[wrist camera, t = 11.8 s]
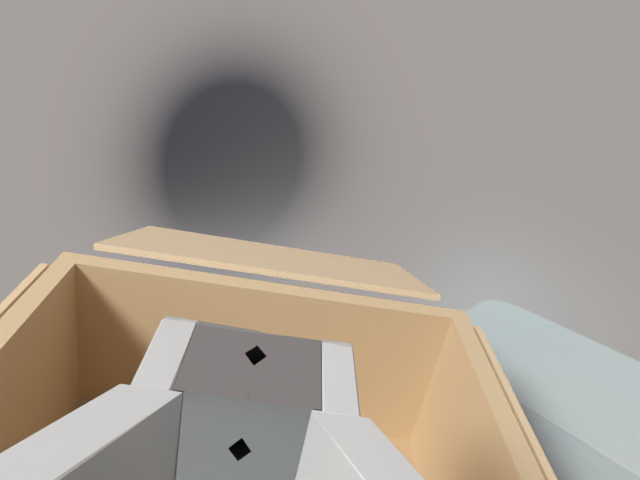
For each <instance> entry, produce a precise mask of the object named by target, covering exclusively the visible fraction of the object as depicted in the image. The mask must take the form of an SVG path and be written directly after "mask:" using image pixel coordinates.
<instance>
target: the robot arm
mask: <svg viewBox="0 0 640 480" xmlns="http://www.w3.org/2000/svg"><path fill="white" fill-rule="evenodd" d="M0 480H425V479H424V478H423V477H422V476H421V475H420V474H419V473H418V471H417V470H416V469H415V468H414V467H413V466H412V465H411V464H410V462H409V461H408V460H407V459H406V458H405V457H404V456H403V455H402V453H401V452H400V451H399V450H398V449H397V448H396V447H395V445H394V444H393V443H392V442H391V441H390V440H389V439H388V438H387V436H386V435H385V434H384V433H383V432H382V431H381V430H380V429H379V427H378V426H377V425H376V424H375V423H374V422H373V421H372V419H371V418H366V417H361V414H360V405H359V396H358V387H357V378H356V369H355V360H354V351H353V346H352V345H351V343H347V342H338V341H330V340H314V339H307V338H300V337H293V336H286V335H279V334H272V333H265V332H260V331H256V330H250V329H244V328H238V327H232V326H227V325H221V324H215V323H209V322H203V321H198V322H197V321H196V320H191V319H184V318H177V317H171V316H166V317H165V318H164V319H162V320H161V322H160V324H159V326H158V329H157V331H156V333H155V335H154V337H153V339H152V341H151V343H150V345H149V347H148V349H147V352H146V354H145V356H144V358H143V360H142V362H141V364H140V366H139V368H138V370H137V372H136V375H135V377H134V379H133V381H132V383H131V385H126V384H119V385H117V386H115V387H114V388H112V389H110V390H109V391H107V392H105V393H103V394H102V395H100V396H98V397H96V398H95V399H93V400H91V401H90V402H88V403H86V404H84V405H83V406H81V407H79V408H78V409H76V410H74V411H72V412H71V413H69V414H67V415H65V416H64V417H62V418H60V419H59V420H57V421H55V422H53V423H52V424H50V425H48V426H46V427H45V428H43V429H41V430H40V431H38V432H36V433H34V434H33V435H31V436H29V437H28V438H26V439H24V440H22V441H21V442H19V443H17V444H15V445H14V446H12V447H10V448H9V449H7V450H5V451H3V452H2V453H0Z"/></svg>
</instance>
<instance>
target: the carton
mask: <svg viewBox="0 0 640 480" xmlns="http://www.w3.org/2000/svg"><path fill="white" fill-rule="evenodd" d="M166 316H171V317H177V318H184V319H191V320H196V321H197V322H198V321H203V322H209V323H215V324H221V325H227V326H232V327H238V328H244V329H250V330H256V331H260V332H265V333H272V334H279V335H286V336H293V337H300V338H307V339H314V340H330V341H338V342H347V343H351V345H352V346H353V351H354V360H355V369H356V378H357V387H358V396H359V405H360V414H361V417H366V418H371V419H372V421H373V422H374V423H375V424H376V425H377V426H378V427H379V429H380V430H381V431H382V432H383V433H384V434H385V435H386V436H387V438H388V439H389V440H390V441H391V442H392V443H393V444H394V445H395V447H396V448H397V449H398V450H399V451H400V452H401V453H402V455H403V456H404V457H405V458H406V459H407V460H408V461H409V462H410V464H411V465H412V466H413V467H414V468H415V469H416V470H417V471H418V473H419V474H420V475H421V476H422V477H423V478H424V479H425V480H557V478H556V476H555V474H554V472H553V470H552V468H551V466H550V464H549V462H548V460H547V458H546V456H545V454H544V452H543V450H542V448H541V446H540V444H539V442H538V440H537V438H536V436H535V434H534V432H533V430H532V428H531V426H530V424H529V422H528V420H527V418H526V416H525V414H524V412H523V410H522V408H521V406H520V404H519V402H518V400H517V398H516V396H515V394H514V392H513V390H512V388H511V386H510V384H509V382H508V380H507V378H506V376H505V374H504V372H503V370H502V368H501V366H500V364H499V362H498V360H497V358H496V356H495V354H494V352H493V350H492V348H491V346H490V344H489V342H488V340H487V338H486V336H485V334H484V332H483V330H482V328H481V327H478V326H475V327H474V329H473V327H472V324H471V322H470V320H469V318H468V316H467V314H466V312H465V311H463V310H455V309H449V308H442V307H436V306H429V305H422V304H415V303H408V302H402V301H395V300H388V299H381V298H374V297H367V296H361V295H354V294H348V293H341V292H334V291H327V290H320V289H314V288H307V287H300V286H293V285H286V284H280V283H273V282H266V281H259V280H253V279H246V278H239V277H232V276H226V275H219V274H212V273H205V272H198V271H191V270H185V269H178V268H171V267H165V266H158V265H151V264H144V263H137V262H130V261H124V260H117V259H110V258H103V257H97V256H90V255H83V254H76V253H70V252H63V253H62V254H61V255H60V256H59V257H58V258H57V260H55V261H54V262H53V264H52V265H51V266H50V267H48V264H44V263H41V264H39V265H38V266H37V267H36V269H34V270H33V272H31V273H30V274H29V276H28V277H27V278H26V279H24V280H23V281H22V282H21V284H20V285H18V286H17V288H15V289H14V291H13V292H12V293H11V294H10V295H9V296H8V297H7V298H6V299H5V300H4V301H3V302H2V303H1V304H0V453H2V452H3V451H5V450H7V449H9V448H10V447H12V446H14V445H15V444H17V443H19V442H21V441H22V440H24V439H26V438H28V437H29V436H31V435H33V434H34V433H36V432H38V431H40V430H41V429H43V428H45V427H46V426H48V425H50V424H52V423H53V422H55V421H57V420H59V419H60V418H62V417H64V416H65V415H67V414H69V413H71V412H72V411H74V410H76V409H78V408H79V407H81V406H83V405H84V404H86V403H88V402H90V401H91V400H93V399H95V398H96V397H98V396H100V395H102V394H103V393H105V392H107V391H109V390H110V389H112V388H114V387H115V386H117V385H119V384H126V385H131V383H132V381H133V379H134V377H135V375H136V372H137V370H138V368H139V366H140V364H141V362H142V360H143V358H144V356H145V354H146V352H147V349H148V347H149V345H150V343H151V341H152V339H153V337H154V335H155V333H156V331H157V329H158V326H159V324H160V322H161V320H162V319H164V318H165V317H166Z"/></svg>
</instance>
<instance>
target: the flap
mask: <svg viewBox="0 0 640 480" xmlns="http://www.w3.org/2000/svg"><path fill="white" fill-rule="evenodd" d="M94 250H99V251H106V252H112V253H119V254H125V255H132V256H139V257H146V258H153V259H159V260H166V261H173V262H179V263H186V264H193V265H199V266H206V267H213V268H220V269H226V270H233V271H240V272H247V273H254V274H260V275H267V276H273V277H280V278H287V279H294V280H300V281H308V282H314V283H321V284H327V285H334V286H341V287H347V288H355V289H361V290H368V291H375V292H381V293H388V294H395V295H402V296H408V297H416V298H422V299H429V300H436V301H440V294H438V293H437V292H436V291H434V290H433V289H431V288H430V287H428V286H427V285H425V284H424V283H423V282H421V281H420V280H418V279H417V278H416V277H414V276H413V275H411V274H410V273H408V272H407V271H405V270H404V269H403V268H401V267H400V266H398V265H397V264H393V263H387V262H380V261H374V260H367V259H361V258H354V257H348V256H341V255H335V254H328V253H322V252H316V251H309V250H302V249H296V248H290V247H283V246H277V245H270V244H263V243H257V242H251V241H244V240H238V239H231V238H224V237H218V236H211V235H205V234H199V233H192V232H186V231H179V230H173V229H165V228H160V227H153V226H148V227H144V228H141V229H138V230H135V231H132V232H128V233H125V234H122V235H119V236H116V237H113V238H109V239H106V240H103V241H100V242H96V243H94Z"/></svg>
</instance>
